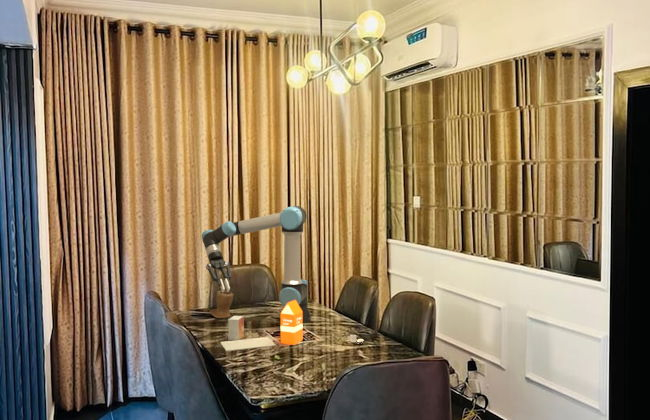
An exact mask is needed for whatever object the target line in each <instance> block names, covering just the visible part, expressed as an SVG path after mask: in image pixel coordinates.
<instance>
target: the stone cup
mask: <svg viewBox="0 0 650 420" xmlns="http://www.w3.org/2000/svg"><path fill="white" fill-rule="evenodd" d="M215 300H216V301H215V302H216V308H213V309H210V310H209V313H210V314H211V315H212V316H213V317H215V318H217V319H226V318H227V319H229V318H231V316H232V315H231V313H230V309H231V306H232V303H233V300H234V292H233V293H232V291H229V292H227V290H224V292H222V290H218V291H217V293H216V298H215Z"/></svg>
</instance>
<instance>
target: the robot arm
mask: <svg viewBox="0 0 650 420" xmlns="http://www.w3.org/2000/svg"><path fill="white" fill-rule="evenodd" d="M306 221H307V212H306V210H305V209H304V208H303V207H301V206H300V205H299V206H298V205H293V206H288V207H285V208H284V209H283V210H281V211H280V212H277V213H273V214H268V215H263V216H258V217H253V218H248V219H243V220H238V221H233V222H232V221H231V220H228V221H226V222H224V223H222V224H221V225H220V226H219V227H216V228H215V229H214V230H213V229H207V230H204V231H202V234H201V239H202V244H203V246H204V249H205V252H206V256H207V259H208V262H209V263H207V264H206V266H205V268H206V270H207V271H208V272H209V275H210V277H211V279H212V281H213V282H216V283H217V286H218V287H220V291H222V292H224V291H227V292H230V290H231V287H230V284H231V283H230V281H231V278H232V272H231V267H230V265H231V262H226V261H225V260H224V256H223V253H222V251H221V248H220V245H219V244H220V243H222V242H223V241H225V240H226V239H228V238H231V237H236V236H240V235H243V234H249V233H254V232H259V231H263V230H270V229H274V228H280V227H281V233H282V234H283V235H284V236H283V237H284V243H283V244H284V246H283V247H284V248H283V250H284V251H283V252H284V253H283V254H284V255H283V256H284V257H283V259H284V260H283V279H282V280H281V281H280V282H281V283H280V292H279V296H278V301H279V303H280V304H281V305H282V306H283V308H284V307H285V306H286V304H287V303H288V302H291V301H293V300H296V302H297V303H298V305H299V307H300V308H301V310H302V323H307V322H310V321H311V319H312V317H311V316H312V315H311V312H310V309H309V306H308V305H309V304H308V303H309V301H308V300H309V299H308V296H309V294H308V292H309V291H308V290H309V289H308V287H309V285H308V280H306V279H302V278H301V235H302V234H303V233H304V224H305V223H306ZM225 269H226V270H225ZM219 271H220V272H219ZM220 273H221V275H222V276H223V279H224V280H223V279H222V278H221V276H220ZM225 289H226V290H225Z"/></svg>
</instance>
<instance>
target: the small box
mask: <svg viewBox="0 0 650 420" xmlns="http://www.w3.org/2000/svg"><path fill="white" fill-rule="evenodd" d="M244 317H245V316H244V315H233V316H232V317H231V316H230V317H229V318H227V324H228V325H227V327H228V329H227V330H228V331H227V332H228V335H227V336H228V338H227V339H228V341H234V340H242V338H244V337H245V318H244Z"/></svg>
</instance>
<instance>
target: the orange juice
mask: <svg viewBox="0 0 650 420" xmlns="http://www.w3.org/2000/svg"><path fill="white" fill-rule="evenodd" d="M303 323H304V322H303ZM303 323H302V310H301V308H300V307H299V305H298V303H297V302H296V300H293V301H291V302H288V303H287V304H286V306H285V307H284V306H283V309H282V311H281V312H280V344H285V345H293V346H294V345H297V344H298V343H300V342H302V341H303V340H304V339H303V336H304V335H303V331H304V330H303Z"/></svg>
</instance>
